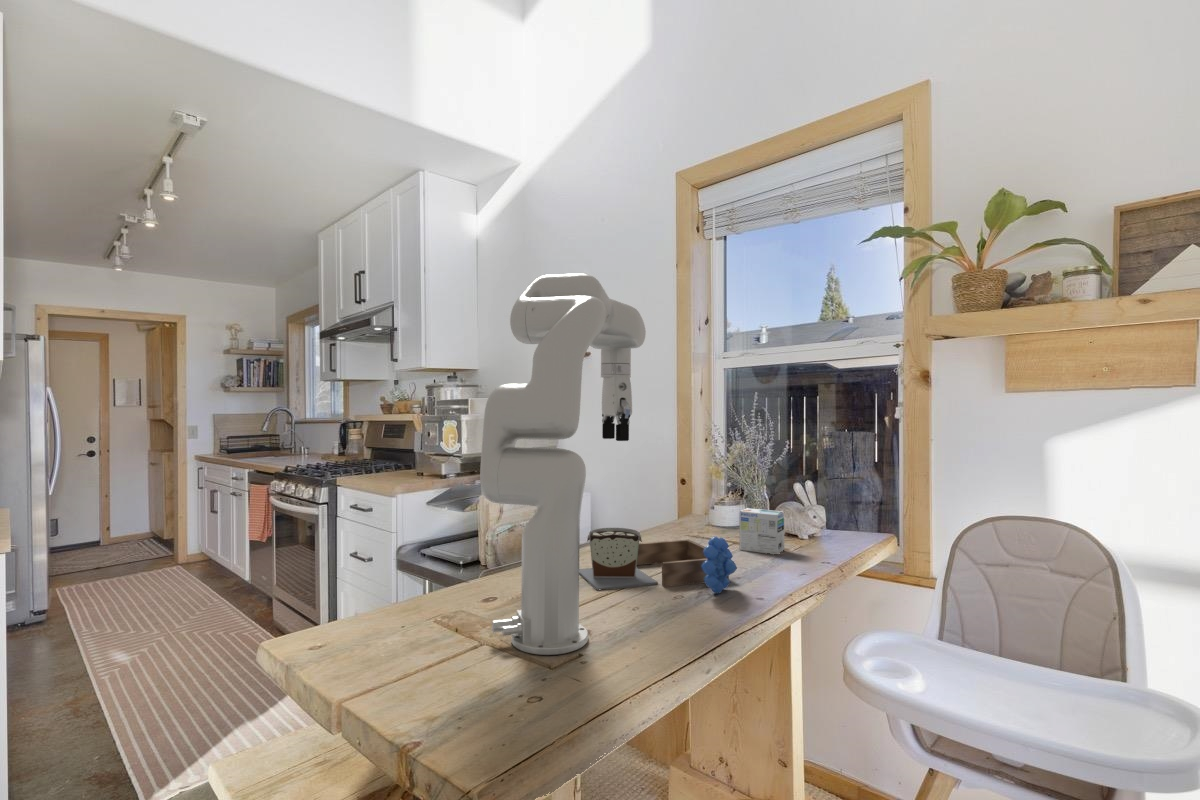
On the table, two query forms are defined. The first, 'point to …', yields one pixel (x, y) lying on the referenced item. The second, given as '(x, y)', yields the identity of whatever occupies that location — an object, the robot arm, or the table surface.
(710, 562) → the grapes
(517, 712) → the table surface
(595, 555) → the food container
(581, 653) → the table surface
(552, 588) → the robot arm
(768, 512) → the light bulb box
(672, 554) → the open side box
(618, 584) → the gray mat
